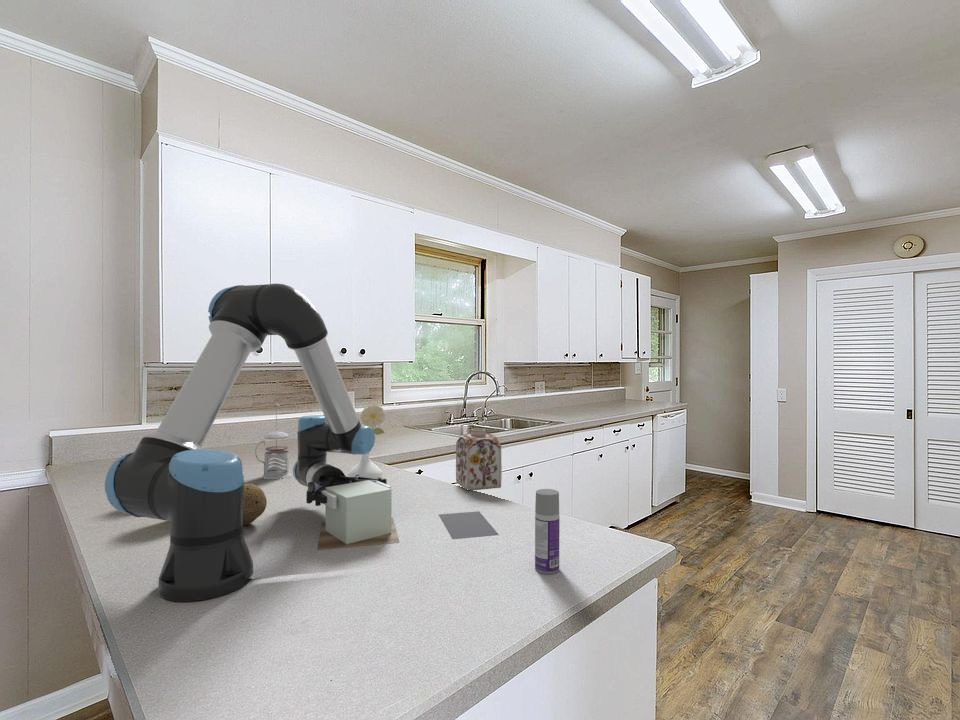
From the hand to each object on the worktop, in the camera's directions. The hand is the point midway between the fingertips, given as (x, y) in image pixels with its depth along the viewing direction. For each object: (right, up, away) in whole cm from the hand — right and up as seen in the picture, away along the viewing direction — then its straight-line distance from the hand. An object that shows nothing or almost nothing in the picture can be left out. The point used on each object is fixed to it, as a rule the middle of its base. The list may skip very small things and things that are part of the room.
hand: (363, 497), depth 114 cm
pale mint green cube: (-2, -8, +1) cm, 9 cm away
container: (+39, -9, -17) cm, 44 cm away
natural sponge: (-30, -9, +8) cm, 33 cm away
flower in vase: (-11, -9, +55) cm, 57 cm away
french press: (-44, -9, +58) cm, 74 cm away
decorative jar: (+26, -9, +47) cm, 54 cm away
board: (-1, -9, +1) cm, 9 cm away
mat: (+19, -9, +7) cm, 22 cm away
